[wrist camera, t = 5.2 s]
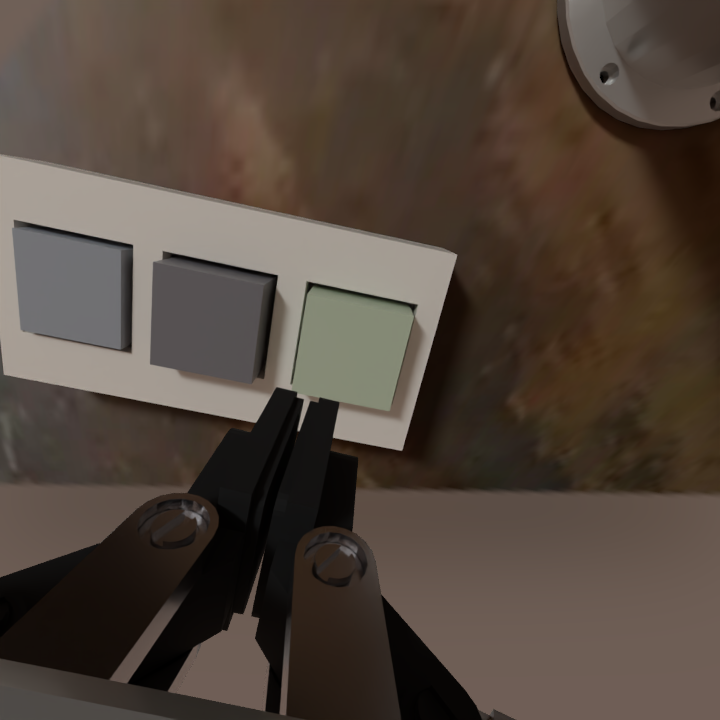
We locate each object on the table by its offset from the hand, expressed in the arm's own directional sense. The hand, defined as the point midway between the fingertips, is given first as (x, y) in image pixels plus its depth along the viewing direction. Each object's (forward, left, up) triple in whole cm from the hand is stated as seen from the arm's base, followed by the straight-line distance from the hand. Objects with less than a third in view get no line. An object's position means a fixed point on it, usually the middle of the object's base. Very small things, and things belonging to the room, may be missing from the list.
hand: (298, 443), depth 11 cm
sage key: (-1, +1, -12) cm, 12 cm away
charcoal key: (+6, +1, -12) cm, 13 cm away
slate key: (+13, 0, -13) cm, 18 cm away
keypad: (+6, +1, -15) cm, 16 cm away
